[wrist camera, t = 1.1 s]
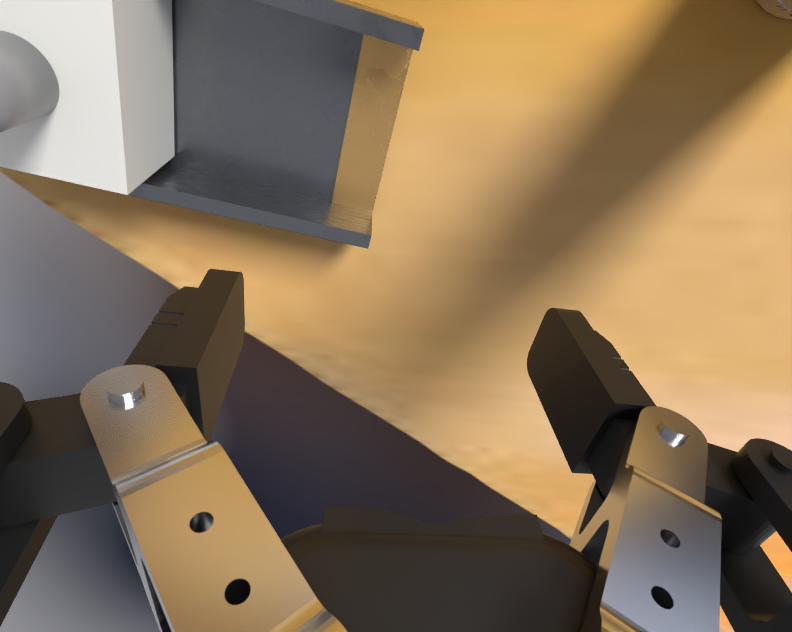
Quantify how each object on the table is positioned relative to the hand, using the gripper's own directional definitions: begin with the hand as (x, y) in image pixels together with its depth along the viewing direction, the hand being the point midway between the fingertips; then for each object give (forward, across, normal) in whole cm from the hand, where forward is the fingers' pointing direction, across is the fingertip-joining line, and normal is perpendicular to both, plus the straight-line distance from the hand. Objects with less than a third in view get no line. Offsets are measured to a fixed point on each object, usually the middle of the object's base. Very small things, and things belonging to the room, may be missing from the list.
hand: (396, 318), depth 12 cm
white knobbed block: (+22, +17, -1) cm, 28 cm away
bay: (+23, +11, -1) cm, 26 cm away
